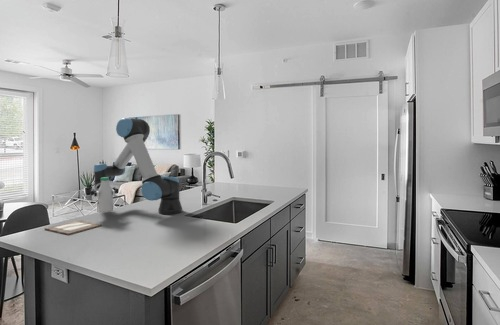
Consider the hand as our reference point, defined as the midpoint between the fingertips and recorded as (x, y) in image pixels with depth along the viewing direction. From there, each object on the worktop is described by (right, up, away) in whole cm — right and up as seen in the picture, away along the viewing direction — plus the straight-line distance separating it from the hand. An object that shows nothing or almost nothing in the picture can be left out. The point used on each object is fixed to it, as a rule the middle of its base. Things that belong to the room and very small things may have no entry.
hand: (106, 193), depth 167 cm
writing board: (-12, -17, -11) cm, 23 cm away
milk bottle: (-2, -11, +5) cm, 12 cm away
